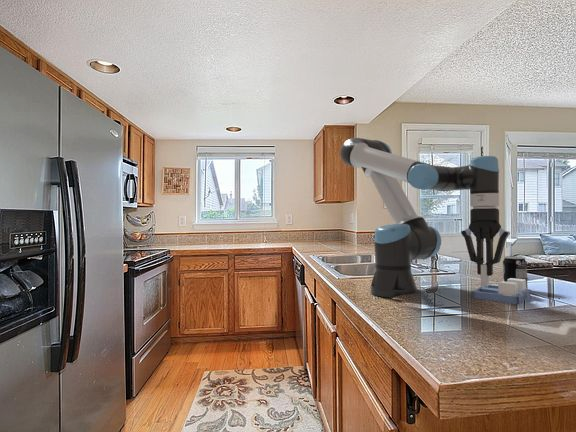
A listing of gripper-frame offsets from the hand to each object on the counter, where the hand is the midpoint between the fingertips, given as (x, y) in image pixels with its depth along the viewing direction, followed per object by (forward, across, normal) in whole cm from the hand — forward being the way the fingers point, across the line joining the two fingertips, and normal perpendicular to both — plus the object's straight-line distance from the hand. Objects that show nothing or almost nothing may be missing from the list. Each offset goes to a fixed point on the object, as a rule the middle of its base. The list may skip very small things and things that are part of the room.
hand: (485, 285), depth 102 cm
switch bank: (+5, +3, +4) cm, 7 cm away
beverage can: (+5, +4, +18) cm, 19 cm away
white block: (+3, +6, 0) cm, 7 cm away
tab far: (+3, +6, +7) cm, 10 cm away
